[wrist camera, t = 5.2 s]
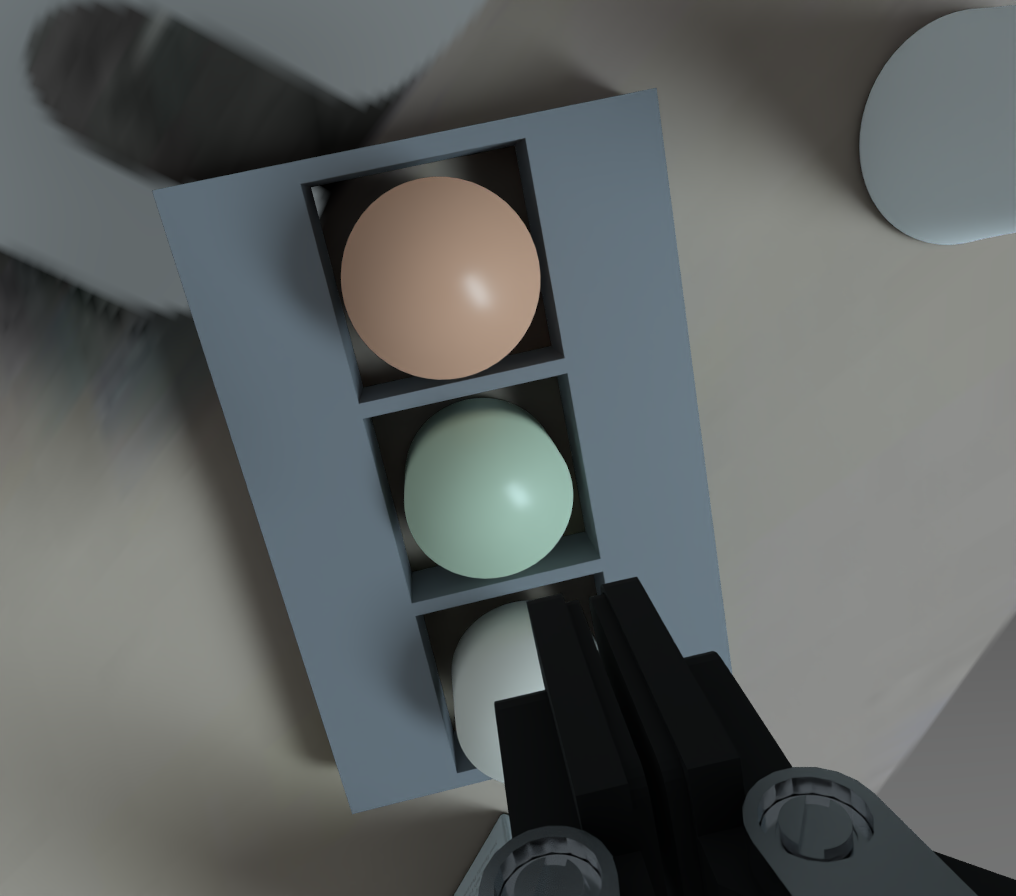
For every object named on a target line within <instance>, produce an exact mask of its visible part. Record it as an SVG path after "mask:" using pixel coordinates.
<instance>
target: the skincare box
mask: <svg viewBox="0 0 1016 896" xmlns="http://www.w3.org/2000/svg"><path fill="white" fill-rule="evenodd" d="M511 839H512V835H511V827H510V820H509V815H506V814H502V815H501V816H500V817H499V819H498V821H497V823H496V824H495V826H494V828H493V830H492V831H491V833H490V835H489V836H488V838H487V840H486V841H485V843H484V845H483V847H482V848H481V850H480V852H479V854H478V855H477V857H476V859H475V860H474V862H473V864H472V865H471V867H470V869H469V870H468V872H467V874H466V876H465V877H464V879H463V881H462V882H461V884H460V886H459V887H458V889H457V891H456V893H455V894H454V896H478V892H479V886H480V882H481V879H482V875H483V871H484V869H485V867H486V866H487V864H488V863H489V861H490V860H491V858H492V857H493V855H494V853H496V852H497V851H498V850H499V849H500V848H501V847H502V846H503V845H505V844H506V843H507V842H508V841H509V840H511Z"/></svg>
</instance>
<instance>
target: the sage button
mask: <svg viewBox="0 0 1016 896" xmlns="http://www.w3.org/2000/svg"><path fill="white" fill-rule="evenodd" d="M572 505H573V487H572V480H571V476H570V473H569V470H568V468H567V465H566V463H565V461H564V459H563V458H562V456H561V454H560V453H559V451H558V449H557V448H556V446H555V445H554V443H553V441H552V440H551V438H550V437H549V435H548V434H547V432H546V430H545V429H544V428H543V426H542V425H541V424H540V423H539V421H538V420H536V419H535V418H534V417H533V416H532V415H531V414H530V413H528V412H527V411H526V410H524V409H522V408H520V407H519V406H517V405H515V404H512V403H509V402H507V401H503V400H499V399H492V398H474V399H467V400H463V401H460V402H456V403H454V404H451V405H449V406H447V407H445V408H443V409H442V410H440V411H438V412H437V413H436V414H434V415H433V416H432V417H431V418H429V419H428V420H427V421H426V422H425V424H424V425H423V426H422V427H421V428H420V430H419V431H418V432H417V434H416V435H415V437H414V439H413V441H412V443H411V445H410V448H409V450H408V454H407V458H406V465H405V486H404V508H405V515H406V520H407V523H408V526H409V529H410V532H411V534H412V536H413V538H414V540H415V541H416V543H417V544H418V545H419V547H420V548H421V549H422V550H423V552H424V553H425V554H426V555H427V556H428V557H429V558H431V559H432V560H433V561H434V562H435V563H437V564H438V565H440V566H442V567H443V568H445V569H447V570H449V571H451V572H453V573H456V574H460V575H463V576H467V577H472V578H483V579H487V578H499V577H505V576H509V575H512V574H515V573H518V572H520V571H523V570H525V569H527V568H529V567H530V566H532V565H534V564H536V563H537V562H538V561H540V560H541V559H542V558H544V557H545V556H546V555H547V554H548V553H549V552H550V551H551V550H552V549H553V548H554V546H555V545H556V544H557V543H558V541H559V540H560V538H561V536H562V535H563V533H564V531H565V529H566V527H567V525H568V522H569V519H570V515H571V511H572Z"/></svg>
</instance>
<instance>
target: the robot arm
mask: <svg viewBox="0 0 1016 896" xmlns="http://www.w3.org/2000/svg"><path fill="white" fill-rule="evenodd" d="M600 589H601V595H597V596H593V597H589V604H590V609H591V615H592V620H593V626H594V631H595V636H596V642H597V647H598V650H597V647H596V644H595V642H594V639H593V637H592V634H591V631H590V629H589V626H588V624H587V621H586V618H585V616H584V613H583V611H582V608H581V605H580V603H579V601H578V600H575V601H571V602H566V603H565V601H564V598H563V595H562V594H557V595H553V596H548V597H544V598H540V599H535V600H531V601H526V603H527V608H528V613H529V618H530V622H531V627H532V632H533V636H534V641H535V646H536V650H537V655H538V660H539V664H540V669H541V674H542V678H543V683H544V688H545V690H542V691H538V692H533V693H529V694H525V695H520V696H516V697H512V698H507V699H503V700H499V701H494V708H495V716H496V724H497V731H498V738H499V746H500V753H501V761H502V768H503V775H504V783H505V790H506V798H507V805H508V812H509V820H510V827H511V835H512V839H511V840H509V841H508V842H507V843H506V844H505V845H503V846H502V847H501V848H500V849H499V850H498V851H497V852H496V853H494V855H493V857H492V858H491V860H490V861H489V863H488V864H487V866H486V867H485V869H484V871H483V875H482V879H481V882H480V886H479V892H478V896H1016V880H1014V879H1011V878H1008V877H1006V876H1003V875H999V874H997V873H994V872H991V871H988V870H986V869H983V868H980V867H977V866H974V865H971V864H969V863H966V862H963V861H959V860H957V859H954V858H952V857H949V856H946V855H943V854H940V853H937V852H934V851H932V850H931V849H930V848H929V847H928V846H927V845H926V844H925V843H924V842H923V841H922V840H921V839H920V838H919V837H918V836H917V835H916V834H915V833H914V832H913V831H912V830H911V829H910V828H909V827H908V826H907V825H906V824H905V823H904V822H903V821H902V820H901V819H900V818H899V817H898V816H897V815H896V814H895V813H894V812H893V811H892V810H891V809H890V808H889V807H888V806H887V805H885V803H884V802H883V801H881V799H880V798H879V797H877V795H876V794H875V793H873V792H872V791H871V790H869V789H868V788H867V787H865V786H864V785H863V784H861V783H860V782H859V781H857V780H855V779H853V778H851V777H848V776H846V775H844V774H842V773H839V772H837V771H832V770H827V769H822V768H818V767H792V766H791V764H790V763H789V761H788V760H787V758H786V757H785V755H784V753H783V752H782V750H781V749H780V747H779V746H778V744H777V743H776V741H775V740H774V738H773V737H772V735H771V734H770V732H769V730H768V729H767V727H766V726H765V724H764V723H763V721H762V720H761V718H760V717H759V715H758V714H757V712H756V710H755V709H754V707H753V706H752V704H751V703H750V701H749V700H748V698H747V697H746V695H745V694H744V692H743V690H742V689H741V687H740V686H739V684H738V683H737V681H736V680H735V678H734V677H733V675H732V674H731V672H730V670H729V669H728V667H727V666H726V664H725V663H724V661H723V660H722V658H721V657H720V656H719V655H718V653H717V652H715V651H710V652H706V653H701V654H697V655H693V656H689V657H684V658H683V656H682V654H681V652H680V651H679V649H678V647H677V645H676V644H675V642H674V640H673V638H672V637H671V635H670V633H669V631H668V629H667V628H666V626H665V624H664V622H663V621H662V619H661V617H660V615H659V614H658V612H657V610H656V608H655V607H654V605H653V603H652V601H651V600H650V598H649V596H648V594H647V592H646V591H645V589H644V587H643V585H642V584H641V582H640V580H639V579H638V577H632V578H628V579H623V580H619V581H614V582H610V583H606V584H601V586H600Z"/></svg>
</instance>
